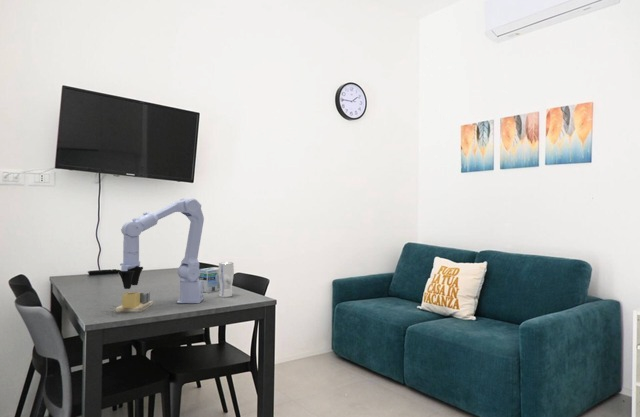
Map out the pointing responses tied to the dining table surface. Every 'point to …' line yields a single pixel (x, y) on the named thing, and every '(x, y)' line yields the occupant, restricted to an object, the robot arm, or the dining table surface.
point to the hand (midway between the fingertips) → (131, 286)
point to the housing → (144, 297)
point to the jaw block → (131, 300)
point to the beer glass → (225, 278)
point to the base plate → (137, 309)
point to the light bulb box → (209, 279)
